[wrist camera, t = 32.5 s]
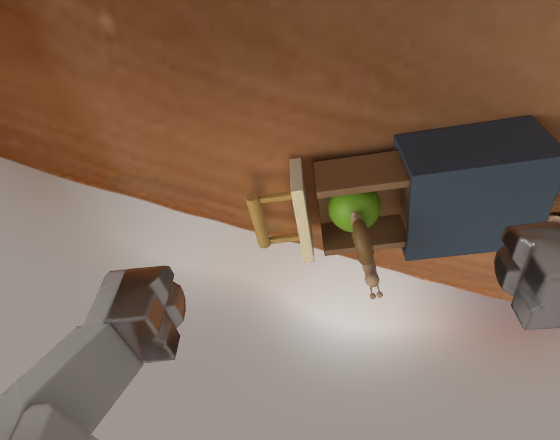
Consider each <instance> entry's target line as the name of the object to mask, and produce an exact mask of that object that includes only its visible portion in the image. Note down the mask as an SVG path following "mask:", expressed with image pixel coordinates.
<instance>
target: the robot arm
mask: <svg viewBox="0 0 560 440" xmlns="http://www.w3.org/2000/svg"><path fill="white" fill-rule="evenodd" d="M501 240H502V242H503V243H504V246H503V247H502V248H500V249H499V250H498V251H497V252H496V256H495V260H494V265H495V274H496V277H497V280H498V282H499V284H500V286H501V288H502V290H504V291H505V292H507V293H508V294H510V295H511V296H513V300H512V304H511V306H512V308H513V310H514V312H515V314H516V316H517V318H518V319H519V321H520V323H521V325H522V327H523V329H524V330H531V329H549V328H560V220H555V221H546V222H538V223H530V224H522V225H514V226H507V227H506V228H505V229H504V230H503V233H502V236H501ZM173 277H174V273H173V272H172V270H171V268H170V267H169V266H157V267H146V268H136V269H135V268H134V269H127V270H116V271H110V272H109V273H108V274H107V275H106V276H105V278H104V280H103V282H102V284H101V286H100V289H99V291H98V293H97V295H96V298H95V300H94V302H93V304H92V307H91V309H90V311H89V313H88V315H87V318H86V320H85V322H84V324H83V326H78V327H76V328H75V329H74V330H73V331H72V332H71V333H70V334H68V335H67V336H66V337H65V338H64V339H63V340H62V341H61V342H59V343H58V344H57V345H56V346H55V347H54V348H53V349H52V350H51V351H49V352H48V353H47V354H46V355H45V356H44V357H43V358H42V359H40V360H39V361H38V362H37V363H36V364H35V365H34V366H33V367H31V368H30V369H29V370H28V371H27V372H26V373H25V374H24V375H23V376H21V377H20V378H19V379H18V380H17V381H16V382H15V383H14V384H13V385H11V386H10V387H9V388H8V389H7V390H6V391H5V392H4V393H2V394H1V395H0V440H97V438H95V437H94V436H93V435H91V433H92V432H93V431H94V429H95V428H96V427H97V425H98V424H99V423H100V422H101V420H102V419H103V417H104V416H105V415H106V413H107V412H108V411H109V410H110V408H111V407H112V406H113V404H114V403H115V402H116V400H117V399H118V398H119V396H120V395H121V394H122V392H123V391H124V390H125V388H126V387H127V386H128V385H129V383H130V382H131V381H132V379H133V378H134V377H135V375H136V374H137V373H138V371H139V370H140V369H141V367H142V366H143V364H142V363H150V362H158V361H167V360H175V356H176V352H177V348H178V343H179V339H180V335H179V333H178V331H177V329H176V328H177V327H178V326H179V325H180V324H181V323H182V322H183V320H184V315H185V297H184V293H183V290H182V288H181V286H180V285H178V284H176V283H175V282H173Z"/></svg>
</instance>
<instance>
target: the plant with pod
mask: <svg viewBox="0 0 560 440" xmlns="http://www.w3.org/2000/svg"><path fill="white" fill-rule="evenodd" d="M555 220H560V217H558V216H553V215H551V216H549V217H548V219H547V221H555Z"/></svg>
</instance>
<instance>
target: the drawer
mask: <svg viewBox="0 0 560 440" xmlns="http://www.w3.org/2000/svg"><path fill="white" fill-rule="evenodd" d="M313 167H314V176H315V185H316V194H317V199H318V206H319V213H320V221H321V229H322V238H323V247H324V254H325V256H327V255H336V254H345V253H354V252H357V251H356V248H355V245H354V241H353V238H352V232H347V231H344V230H342V229H340V228H339V227H338V226H336V225H335V224H334V222H333V221H332V220H331V218H330V215H329V212H328V201H329V198H330V197H335V196H343V195H350V194H358V193H366V192H374V191H376V192H377V193H378V195H379V198H380V202H381V211H380V215H379V217H378V219H377V221H376V222H375V223H374V224H373V225H372V226H371V227H370V228H368V230H369V233H370V237H371V240H372V244H373V250H381V249H390V248H399V247H405V244H406V230H407V216H408V202H409V188H410V176H409V174H408V172H407V169H406V167H405V165H404V162H403V160H402V158H401V155H400V153H399V151H398V150H397V151H390V152H382V153H375V154H368V155H361V156H354V157H346V158H339V159H332V160H325V161H318V162H313ZM290 185H291V192H286V193H278V194H270V195H263V196H259V195H258V194H257V193H251V194H249V195H247V196H246V202H247V205H248V209H249V212H250V216H251V219H252V223H253V226H254V229H255V233H256V236H257V239H258V243H259V246H260V247H261V248H267V247H269V246H270V245H271V244H273V243H281V242H290V241H299V240H300V244H301V249H302V255H303V260H304V263H306V262H314V251H313V239H312V228H311V221H310V214H309V208H308V201H307V195H306V188H305V182H304V175H303V169H302V162H301V158H296V159H290ZM284 200H292V202H293V207H294V212H295V218H296V223H297V228H298V234H290V235H282V236H273V237H269V233H268V229H267V225H266V221H265V217H264V214H263V210H262V206H261V203H269V202H276V201H284Z"/></svg>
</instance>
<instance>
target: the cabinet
mask: <svg viewBox="0 0 560 440" xmlns="http://www.w3.org/2000/svg"><path fill="white" fill-rule="evenodd" d="M397 150H398V151H399V153H400V155H401V158H402V160H403V162H404V165H405V167H406V169H407V172H408V174H409V176H410V188H409V202H408V216H407V230H406V244H405V247H402V251H403V254H404V256H405V260H406V261H411V260H421V259H430V258H439V257H449V256H458V255H467V254H476V253H486V252H495V251H498V250H499V249H500V248H502V247H503V246H504V243H503V242H502V240H501V236H502V233H503V230H504V229H505V228H506V227H507V226H514V225H522V224H530V223H538V222H546V221H547V219H548V216H549V214H550V211H551V209H552V206H553V204H554V201H555V199H556V196H557V194H558V191H559V189H560V143H559V142H558V141H557V140H556V139H555V138H554V137H553V136H552V135H551V134H550V133H549V132H548V131H547V130H546V129H545V128H544V127H542V126H541V125H540V124H539V123H538V122H537V121H536V120H535V119H534V118H533V117H532V116H531V115H530V116H523V117H516V118H509V119H502V120H495V121H488V122H481V123H474V124H467V125H460V126H453V127H446V128H439V129H432V130H426V131H419V132H412V133H405V134H398V135H394V151H397Z"/></svg>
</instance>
